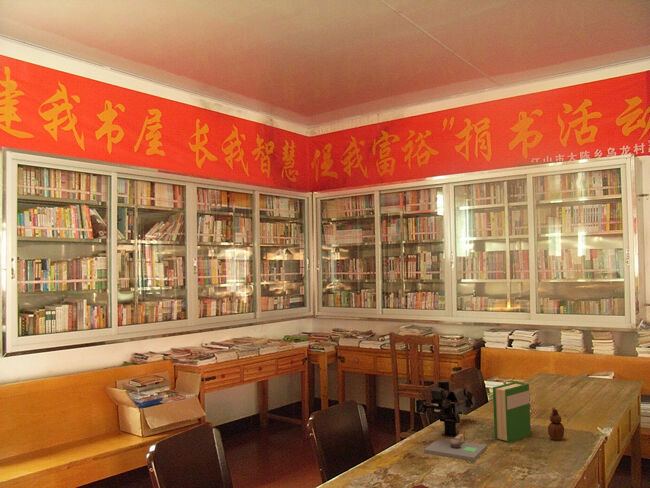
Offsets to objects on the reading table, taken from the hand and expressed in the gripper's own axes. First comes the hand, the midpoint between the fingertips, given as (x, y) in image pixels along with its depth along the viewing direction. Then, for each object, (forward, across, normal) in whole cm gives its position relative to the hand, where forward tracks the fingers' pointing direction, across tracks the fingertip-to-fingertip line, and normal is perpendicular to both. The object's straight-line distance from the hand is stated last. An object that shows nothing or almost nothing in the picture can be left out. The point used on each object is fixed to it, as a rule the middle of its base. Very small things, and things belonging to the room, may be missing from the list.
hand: (429, 412), depth 247 cm
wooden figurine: (-40, +45, +17) cm, 63 cm away
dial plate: (-4, +10, +17) cm, 20 cm away
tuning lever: (-8, +10, +15) cm, 19 cm away
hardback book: (-34, +27, +17) cm, 47 cm away
